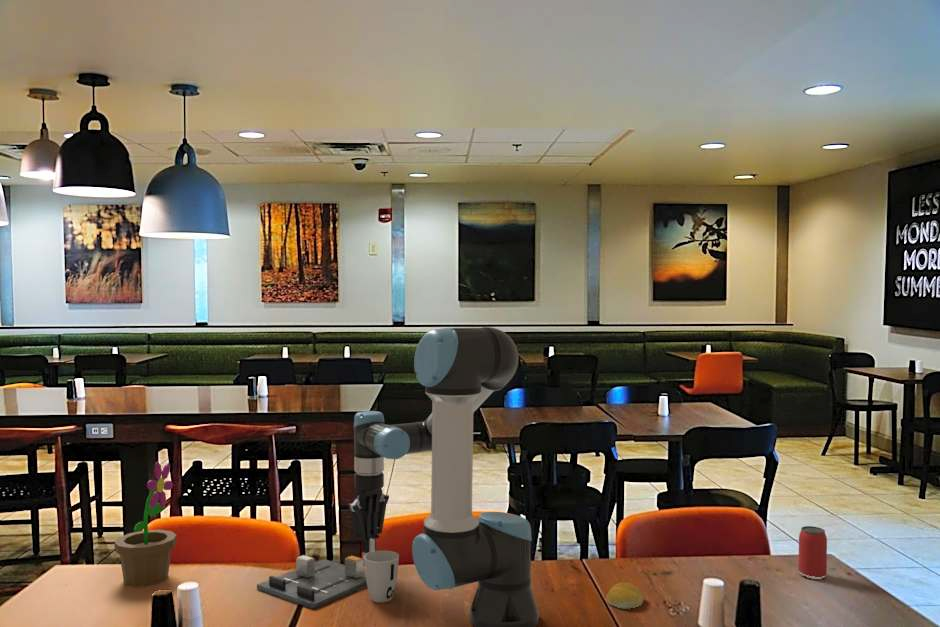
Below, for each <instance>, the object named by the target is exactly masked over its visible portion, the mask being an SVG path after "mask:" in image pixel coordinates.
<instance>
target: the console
mask: <svg viewBox="0 0 940 627" xmlns="http://www.w3.org/2000/svg"><path fill="white" fill-rule="evenodd" d="M314 564H315V575H313V576H311V577H308V578H306V577H303V576H300V575H297V574H296V569H294V570H292V571H289V572H286V573H284V574H281V575H279V576H274V575H269V576H268V579H267V580H265V581H263V582H260V583H257V584H256V590H257V589H258V591H260V590H261V592H263V593H265V594H269V595H271V596H275V597H277V598H281V599H283V600H286V601H289V602H291V603H294V604H296V605H299V606H303V607H305V608H308V609H311V610H316V609H318V608H321V607H323V606H326V605H327V604H329V603H332V602H333V601H334V602H335V601H336V600H339V599H341V598H343V597H345V596H347V595H350V594H351V593H355V592H356V591H358V590H362V589H363V588H366V587H367V581H366V575H365V570H363V576H361V577H358V578H354V577H350V576H347V575H345V564H343V563H339V562H336V561H332V560H329V559H325V558H323V559H321V560H318V561H314Z"/></svg>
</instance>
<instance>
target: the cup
mask: <svg viewBox="0 0 940 627" xmlns="http://www.w3.org/2000/svg"><path fill="white" fill-rule="evenodd" d="M399 558H400V554H399V553H397V552H396V551H393V550H375V551H374V552H370V553H368V554H366V555H365V556H364V560H365V564H364V571H365V575H366V581H367V586H366V587H367V590H368V595H369V597H370V600H371V601H372V602H374V603H387V602H390V601H392V600H393V598H394V595H395V591H396V587H397V583H398V582H397V581H398V577H399V576H398V574H399V562H400V561H399V560H400V559H399Z"/></svg>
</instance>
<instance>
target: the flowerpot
mask: <svg viewBox="0 0 940 627" xmlns="http://www.w3.org/2000/svg"><path fill="white" fill-rule="evenodd" d="M153 471H154V477H155V478H156V480H155V479H153V480H152V479H149V480H148V481H147V482H146V487H147V489H148V490H150V491H149V493H148V496H147V498H146V501H145V508H144V513H143V521H139V522H138V523H136V524H135V525H134V528H133V532H130V533H126V534H124V535H122V536H121V535H120V536H119V537H118V538H117V539H116V540H115V541H114V543H113V544H114V551H115V552H116V553H117V554H118V555H119V557H120V558H119V559H120V564H121V570H122V578H123V582H124V584H125V585H126V586H131V587H147V586H152V585H157V584H159V583H161V582H163V581H166V580H167V578H168V577H169V572H170V564H171V555H172V549H173V548H174V547H175V546H176V544H177V541H178V540H177V534H176V533H175V532H173V531H172V530H164V529H148V528H149V527H148V526H149V525H148V524H149V522H148V521H149V516H152V517H154V516H155V515H157V514H159V513H161V512H162V511H163V510H165V509H166V508H167V507H166V503H167V496H166V492H165V491H171V490H172V489H173V487H174V483H173V482H172V480H166V479H167V478H168V476H169V474H170V471H171V464H170V462H167V463H166V464H165V465H164V466H163V467H162V465H161V464H160V463H159V461H156V462H155V463H154V469H153Z"/></svg>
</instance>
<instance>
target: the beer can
mask: <svg viewBox="0 0 940 627" xmlns="http://www.w3.org/2000/svg"><path fill="white" fill-rule="evenodd" d="M827 555H828V538H827V534H826V531H825V529H824V528H821V527H818V526H812V525H807V526H802V527H801V528H800V532H799V534H798V570H799V571H800V572H802V573H803V574H806V575H809V576H815V577H822V576H825V575H826V576H827V568H828V567H827V564H828V562H827V561H828V560H827V559H828V556H827Z"/></svg>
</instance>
